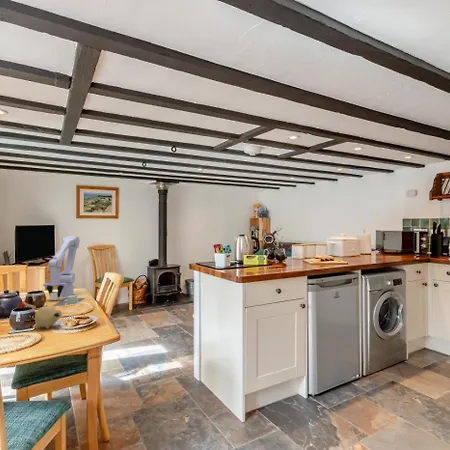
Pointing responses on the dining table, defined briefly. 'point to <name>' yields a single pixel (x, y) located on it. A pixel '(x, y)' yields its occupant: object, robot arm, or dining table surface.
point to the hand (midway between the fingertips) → (55, 296)
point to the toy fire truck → (25, 305)
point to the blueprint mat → (64, 302)
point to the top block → (54, 296)
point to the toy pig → (47, 317)
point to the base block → (72, 299)
